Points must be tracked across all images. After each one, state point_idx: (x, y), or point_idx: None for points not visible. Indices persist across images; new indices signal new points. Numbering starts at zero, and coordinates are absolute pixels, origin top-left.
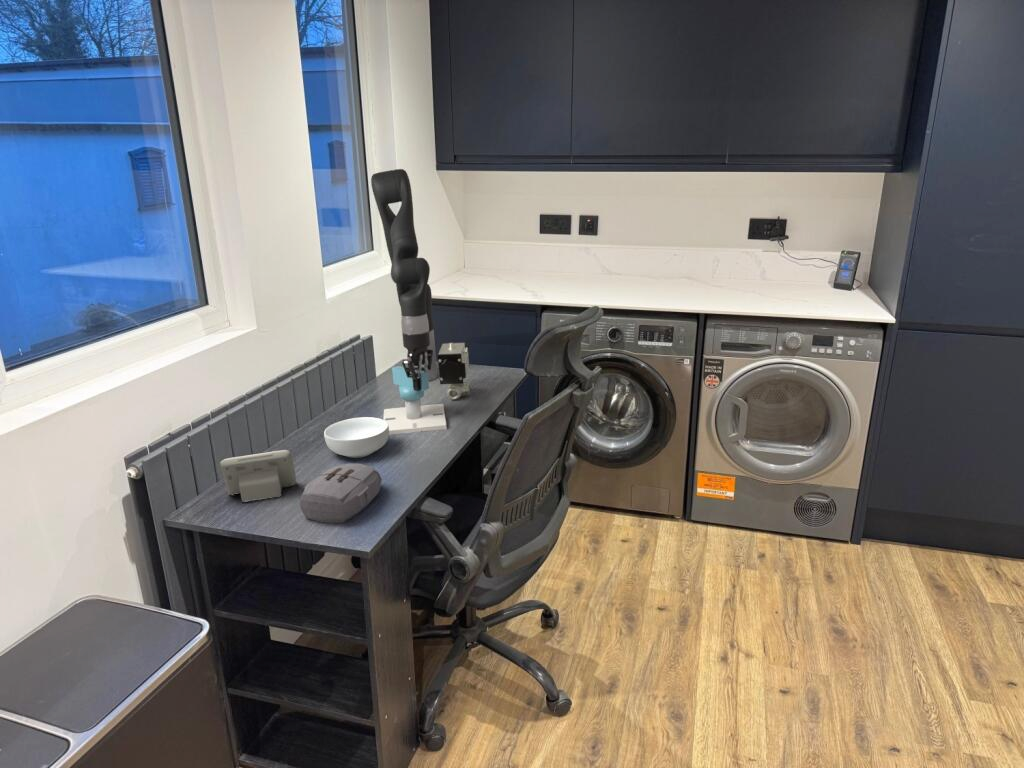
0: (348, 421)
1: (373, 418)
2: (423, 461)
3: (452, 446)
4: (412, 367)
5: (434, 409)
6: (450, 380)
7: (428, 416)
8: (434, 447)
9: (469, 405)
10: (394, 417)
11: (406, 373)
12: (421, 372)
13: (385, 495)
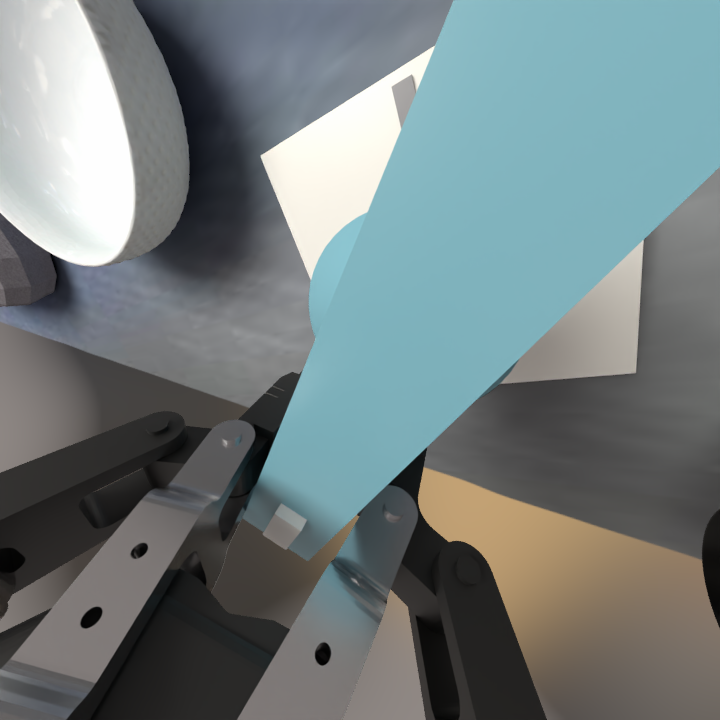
0: None
1: (126, 135)
2: (181, 349)
3: None
4: (32, 560)
5: (541, 341)
6: (716, 528)
7: None
8: (246, 365)
9: (614, 459)
10: None
11: (91, 442)
12: (265, 528)
13: (60, 304)
